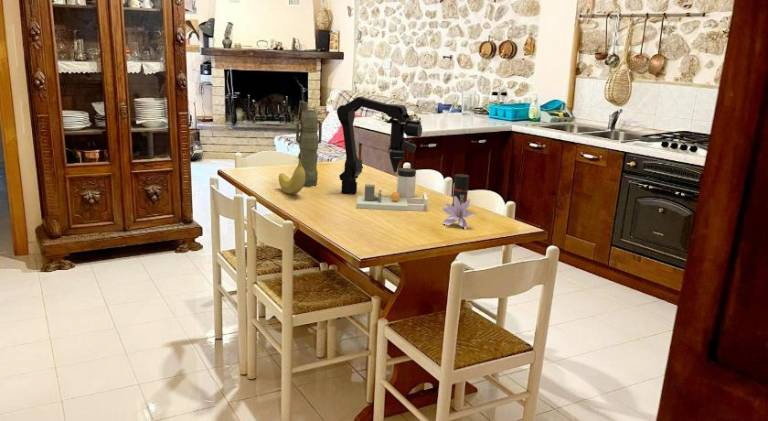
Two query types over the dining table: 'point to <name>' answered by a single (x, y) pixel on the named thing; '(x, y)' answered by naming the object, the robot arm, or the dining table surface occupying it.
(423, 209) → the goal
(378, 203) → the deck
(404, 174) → the jar
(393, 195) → the ball
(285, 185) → the banana
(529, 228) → the dining table surface
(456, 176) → the deodorant
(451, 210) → the water lily
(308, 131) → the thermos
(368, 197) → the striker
